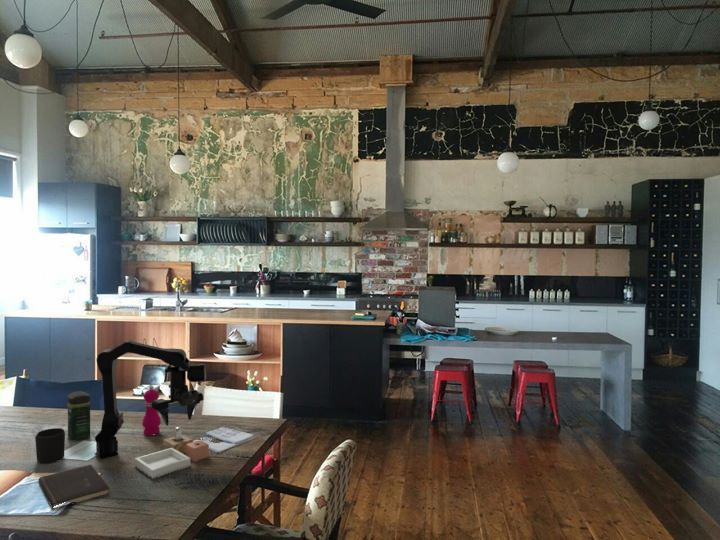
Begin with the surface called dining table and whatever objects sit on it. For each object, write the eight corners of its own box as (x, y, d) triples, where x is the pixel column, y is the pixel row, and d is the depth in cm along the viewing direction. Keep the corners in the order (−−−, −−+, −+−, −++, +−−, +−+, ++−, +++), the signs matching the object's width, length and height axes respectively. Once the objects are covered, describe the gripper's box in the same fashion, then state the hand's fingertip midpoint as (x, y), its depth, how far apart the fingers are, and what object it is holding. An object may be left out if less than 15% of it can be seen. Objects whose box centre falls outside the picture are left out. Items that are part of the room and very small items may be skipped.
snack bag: (255, 439, 214) (255, 434, 214) (217, 455, 197) (217, 450, 197) (223, 430, 225) (223, 425, 224) (185, 444, 208) (185, 439, 208)
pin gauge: (173, 446, 201) (173, 427, 200) (179, 445, 202) (179, 426, 202) (176, 448, 199) (176, 429, 199) (182, 446, 201) (182, 427, 200)
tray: (152, 478, 176) (152, 470, 176) (134, 466, 185) (134, 458, 185) (190, 466, 186) (190, 458, 186) (172, 455, 196) (171, 447, 195)
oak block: (173, 456, 195) (173, 445, 195) (163, 451, 200) (163, 439, 200) (193, 450, 201) (193, 439, 201) (182, 445, 206) (182, 434, 206)
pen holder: (71, 455, 194) (71, 429, 194) (50, 466, 185) (49, 438, 185) (51, 452, 197) (50, 427, 196) (29, 462, 188) (28, 435, 187)
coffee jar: (92, 438, 212) (92, 393, 211) (70, 443, 207) (70, 397, 206) (87, 431, 219) (86, 388, 218) (66, 436, 214) (65, 391, 213)
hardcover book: (91, 470, 183) (91, 464, 183) (109, 495, 165) (109, 487, 165) (38, 484, 173) (38, 477, 172) (52, 511, 155) (52, 503, 155)
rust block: (194, 461, 190) (194, 448, 190) (185, 457, 194) (185, 444, 194) (208, 457, 195) (208, 444, 194) (200, 452, 199) (200, 439, 198)
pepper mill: (148, 437, 213) (148, 389, 212) (139, 433, 218) (138, 386, 217) (164, 432, 219) (163, 385, 218) (154, 428, 224) (154, 382, 223)
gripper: (165, 391, 187) (165, 434, 188) (210, 381, 201) (211, 421, 201) (150, 385, 194) (151, 426, 195) (195, 376, 208) (196, 414, 209)
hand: (178, 422), depth 200 cm, fingers open, 9 cm apart
